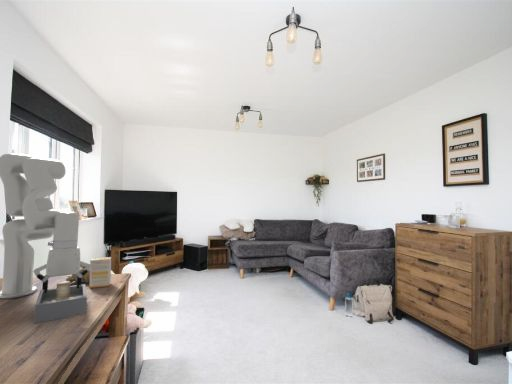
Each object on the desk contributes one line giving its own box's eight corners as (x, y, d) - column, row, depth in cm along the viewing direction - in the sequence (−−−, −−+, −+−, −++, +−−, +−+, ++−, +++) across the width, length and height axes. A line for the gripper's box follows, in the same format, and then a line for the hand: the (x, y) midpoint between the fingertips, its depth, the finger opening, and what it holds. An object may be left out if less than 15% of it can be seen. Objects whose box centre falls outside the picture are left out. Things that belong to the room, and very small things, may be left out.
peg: (55, 308, 97) (57, 282, 97) (68, 306, 99) (70, 280, 99) (55, 312, 94) (56, 285, 94) (68, 310, 96) (70, 283, 96)
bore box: (39, 305, 99) (40, 290, 99) (84, 298, 107) (85, 284, 107) (33, 323, 86) (34, 305, 86) (85, 313, 94) (86, 297, 94)
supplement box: (110, 283, 126) (112, 256, 126) (108, 286, 121) (110, 259, 122) (91, 284, 123) (92, 257, 123) (88, 288, 118) (90, 259, 119)
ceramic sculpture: (97, 259, 136) (89, 269, 122) (97, 275, 136) (89, 287, 122) (74, 260, 132) (63, 270, 118) (74, 277, 133) (62, 289, 119)
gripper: (33, 247, 89) (30, 297, 89) (92, 244, 99) (89, 289, 99) (36, 243, 95) (33, 290, 95) (91, 241, 105) (89, 282, 105)
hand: (62, 289), depth 97 cm, fingers open, 9 cm apart
